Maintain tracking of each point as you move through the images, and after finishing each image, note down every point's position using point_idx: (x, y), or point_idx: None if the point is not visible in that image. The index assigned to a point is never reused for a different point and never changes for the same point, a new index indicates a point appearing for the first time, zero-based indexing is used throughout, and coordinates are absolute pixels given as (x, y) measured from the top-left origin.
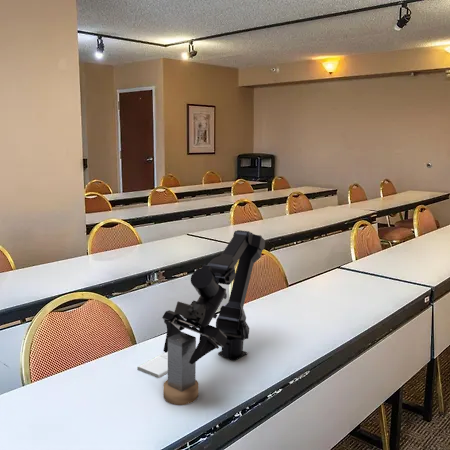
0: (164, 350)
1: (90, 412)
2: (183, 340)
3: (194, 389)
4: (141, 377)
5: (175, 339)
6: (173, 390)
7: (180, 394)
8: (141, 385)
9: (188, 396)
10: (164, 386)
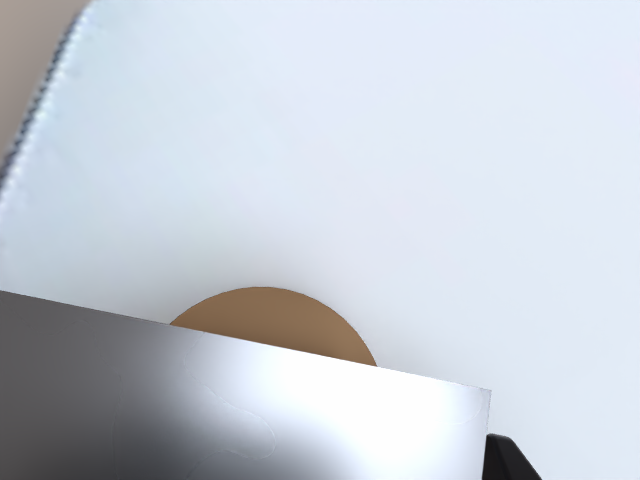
0: (494, 439)
1: (558, 39)
2: (18, 476)
3: None
4: (609, 459)
5: (257, 410)
6: (262, 318)
7: (195, 305)
8: (540, 374)
9: None
10: (347, 331)
